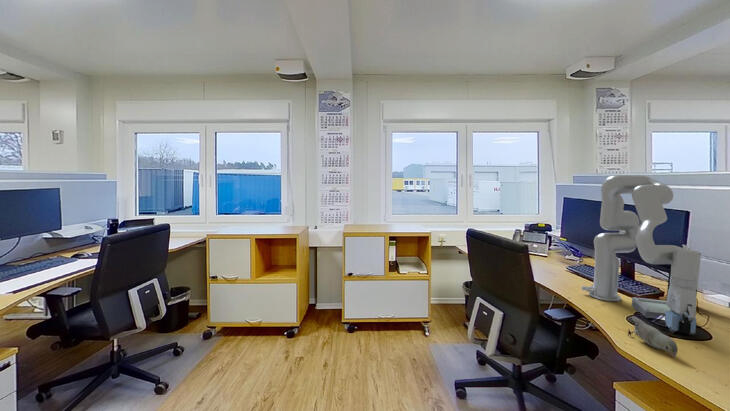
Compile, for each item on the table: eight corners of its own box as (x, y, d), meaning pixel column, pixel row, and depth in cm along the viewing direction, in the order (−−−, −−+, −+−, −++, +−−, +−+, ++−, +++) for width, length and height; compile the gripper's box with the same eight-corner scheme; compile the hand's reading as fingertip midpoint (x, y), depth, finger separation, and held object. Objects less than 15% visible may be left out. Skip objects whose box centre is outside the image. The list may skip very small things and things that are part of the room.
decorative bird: (667, 359, 106) (669, 336, 105) (624, 335, 122) (625, 315, 121) (682, 358, 106) (684, 336, 105) (637, 335, 122) (639, 315, 121)
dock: (644, 318, 136) (645, 308, 136) (631, 306, 149) (632, 297, 149) (694, 324, 131) (695, 314, 130) (676, 311, 144) (677, 302, 143)
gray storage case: (669, 332, 124) (671, 315, 123) (663, 327, 128) (664, 310, 128) (695, 336, 121) (697, 318, 120) (688, 330, 125) (690, 313, 125)
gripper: (660, 275, 132) (656, 318, 134) (683, 288, 116) (678, 337, 118) (684, 277, 130) (680, 321, 131) (711, 291, 114) (706, 341, 115)
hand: (679, 328), depth 124 cm, fingers open, 5 cm apart
